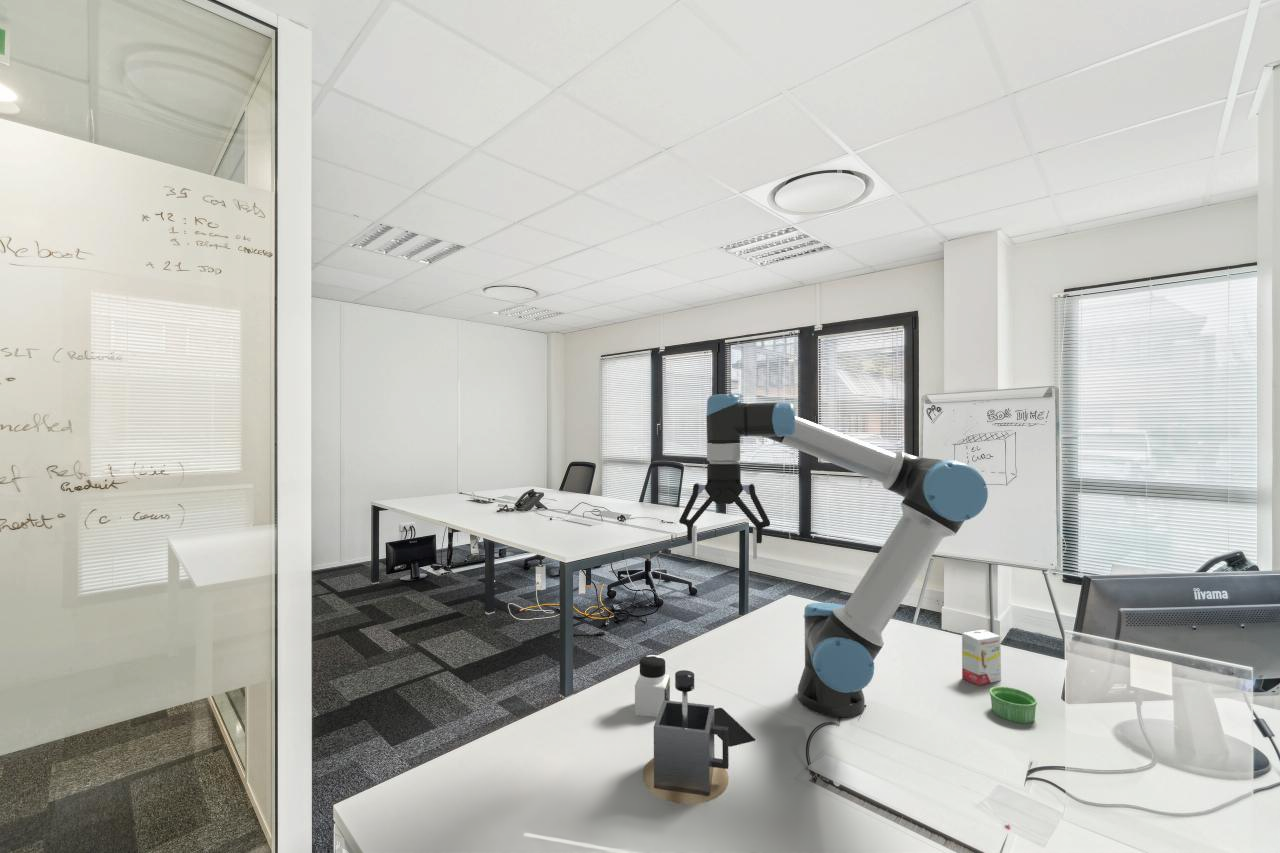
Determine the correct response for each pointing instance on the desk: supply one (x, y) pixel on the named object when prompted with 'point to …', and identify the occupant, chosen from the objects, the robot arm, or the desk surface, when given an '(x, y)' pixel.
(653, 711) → the medicine bottle
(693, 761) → the press body
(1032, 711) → the ramekin
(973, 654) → the ink box
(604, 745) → the desk surface
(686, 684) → the plunger
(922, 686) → the desk surface
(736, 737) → the smartphone
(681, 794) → the coaster
